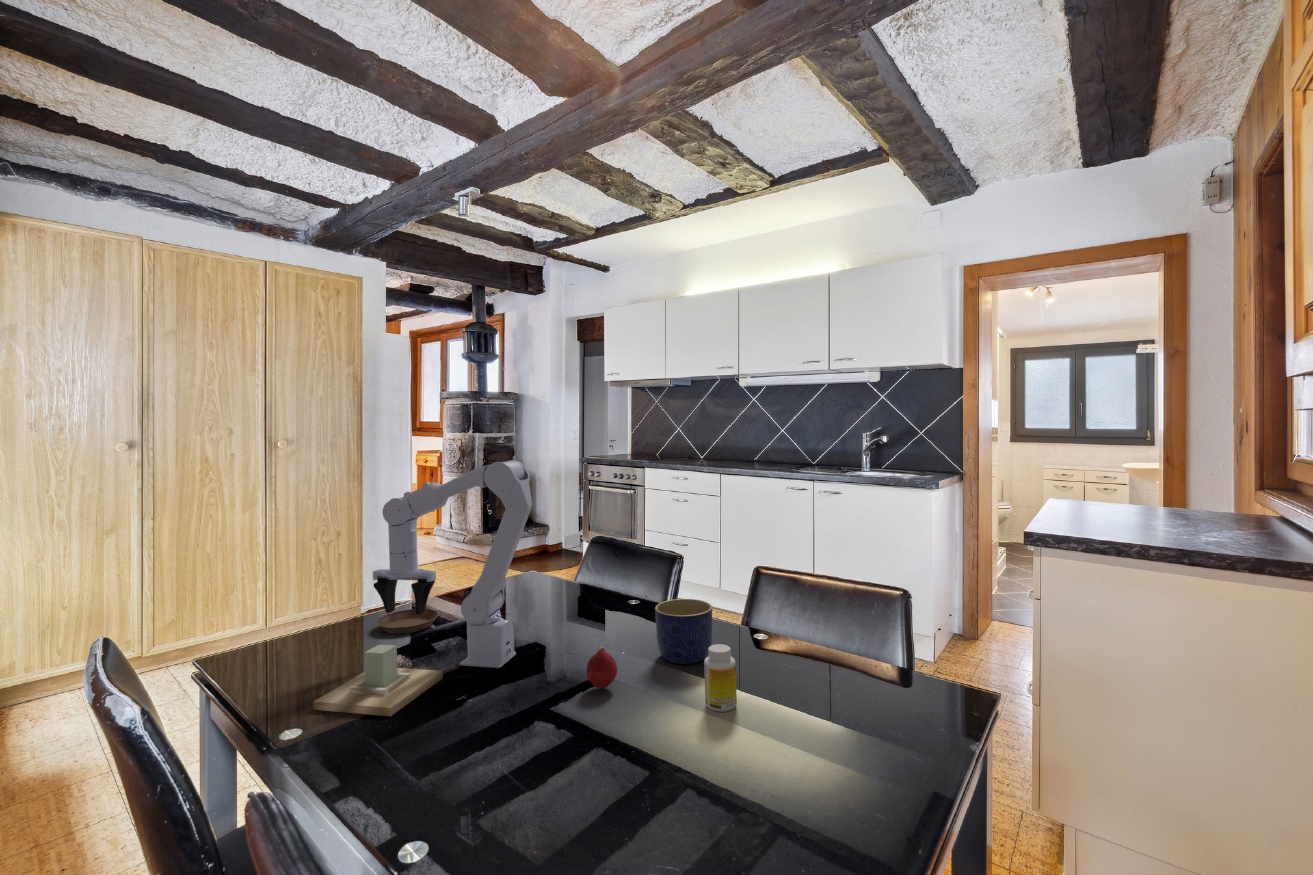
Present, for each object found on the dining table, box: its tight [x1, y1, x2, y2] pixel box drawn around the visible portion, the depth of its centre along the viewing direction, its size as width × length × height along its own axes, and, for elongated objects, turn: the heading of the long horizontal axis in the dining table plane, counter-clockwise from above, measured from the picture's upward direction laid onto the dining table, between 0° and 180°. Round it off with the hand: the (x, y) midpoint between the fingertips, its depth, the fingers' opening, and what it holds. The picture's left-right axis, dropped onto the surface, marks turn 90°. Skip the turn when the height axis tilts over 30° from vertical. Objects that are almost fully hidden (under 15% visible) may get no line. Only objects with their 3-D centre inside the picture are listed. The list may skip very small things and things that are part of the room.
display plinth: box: [312, 667, 444, 717], centre depth 111 cm, size 16×16×2 cm
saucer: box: [376, 608, 439, 635], centre depth 151 cm, size 15×15×3 cm
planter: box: [654, 598, 713, 665], centre depth 125 cm, size 12×12×11 cm
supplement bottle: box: [703, 643, 738, 713], centre depth 102 cm, size 6×6×10 cm
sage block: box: [364, 644, 398, 688], centre depth 111 cm, size 4×4×7 cm
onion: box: [586, 646, 618, 691], centre depth 110 cm, size 6×6×8 cm
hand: (405, 612), depth 128 cm, fingers open, 7 cm apart
